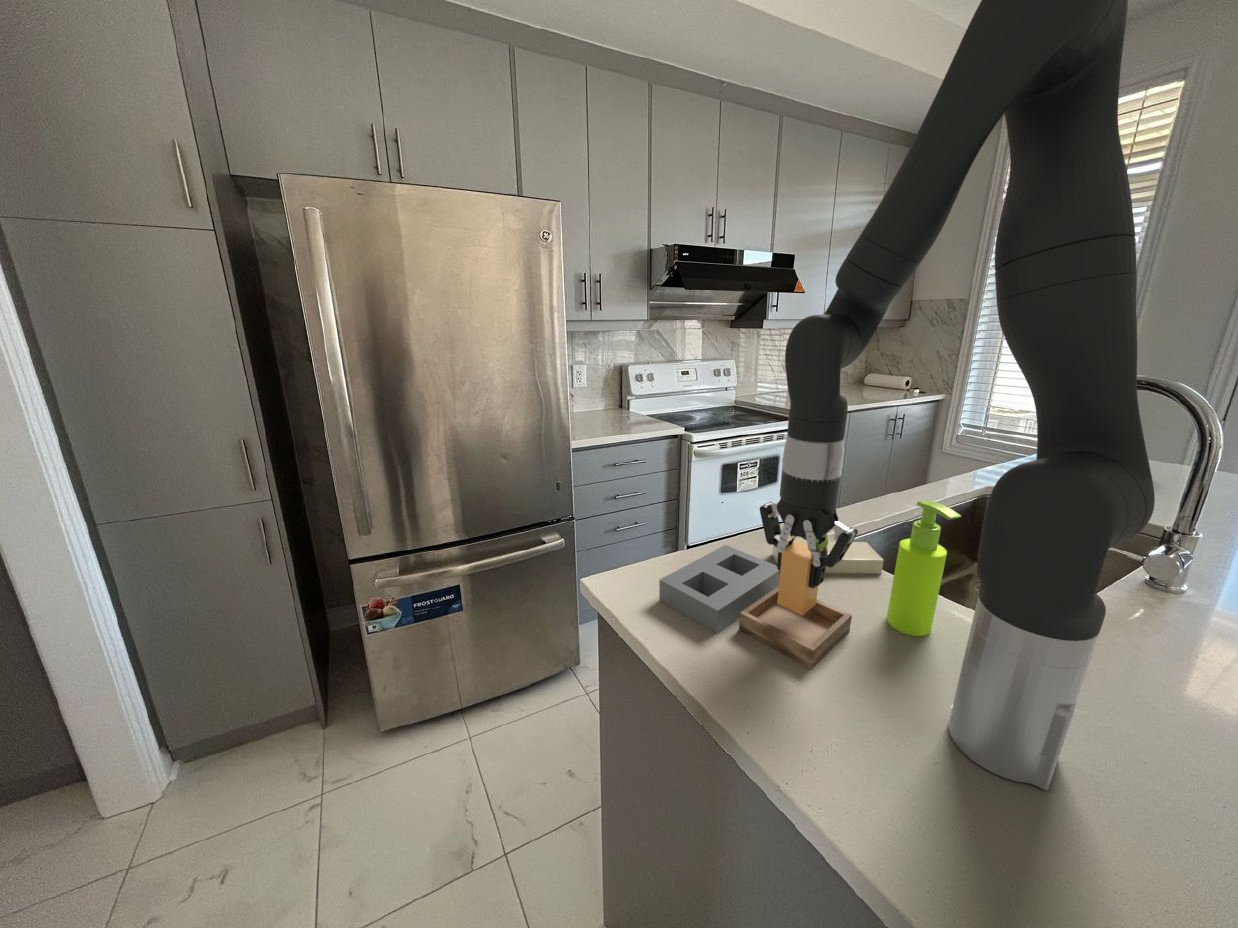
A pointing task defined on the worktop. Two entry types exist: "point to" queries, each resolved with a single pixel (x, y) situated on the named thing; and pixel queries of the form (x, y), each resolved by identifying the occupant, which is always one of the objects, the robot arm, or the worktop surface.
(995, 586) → the robot arm
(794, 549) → the plug
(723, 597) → the cinder block
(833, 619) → the tray
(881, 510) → the worktop surface
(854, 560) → the electrical outlet
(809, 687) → the worktop surface
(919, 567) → the soap dispenser
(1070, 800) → the worktop surface
